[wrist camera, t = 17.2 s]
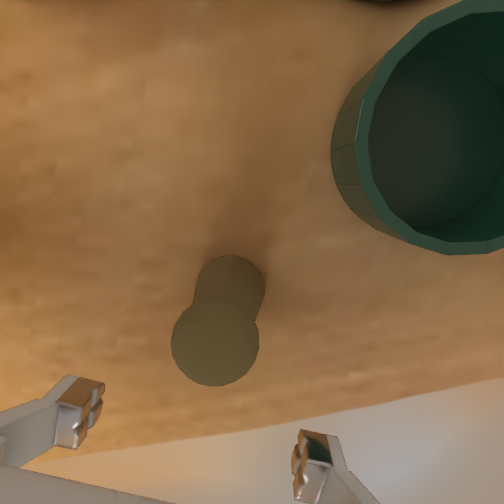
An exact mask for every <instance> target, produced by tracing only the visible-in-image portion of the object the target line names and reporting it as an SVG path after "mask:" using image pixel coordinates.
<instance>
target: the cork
mask: <svg viewBox="0 0 504 504" xmlns="http://www.w3.org/2000/svg"><path fill="white" fill-rule="evenodd" d="M264 293H265V292H264V281H263V279H262V276H261V274H260V272H259V271H258V270H257V268H256V267H255V266H254V265H253V264H252V263H250V262H248V261H247V260H245V259H243V258H239V257H235V256H222V257H220V258H217V259H214V260H212V261H211V262H210V263H208V264H207V265H206V266H205V267H204V268H203V270H202V271H201V273H200V274H199V276H198V281H197V285H196V289H195V294H194V299H193V304H192V305H191V306H190V307H188V308H187V309H186V310H184V311H183V313H182V314H181V316H180V318H179V319H178V321H177V322H176V324H175V325H174V328H173V333H172V337H171V348H172V356H173V358H174V360H175V362H176V364H177V366H178V367H179V369H180V370H181V371H182V372H183V373H184V374H185V375H186V376H187V377H188V378H189V379H191V380H193V381H194V382H196V383H198V384H202V385H206V386H224V385H227V384H230V383H233V382H235V381H237V380H238V379H240V378H241V377H242V376H244V375H245V374H246V373H247V372H248V371H249V369H250V368H251V366H252V365H253V364H254V362H255V360H256V356H257V353H258V349H259V335H258V329H257V326H256V324H255V320H256V317H257V314H258V312H259V309H260V306H261V303H262V300H263V296H264Z"/></svg>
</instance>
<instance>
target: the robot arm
mask: <svg viewBox="0 0 504 504" xmlns="http://www.w3.org/2000/svg"><path fill="white" fill-rule="evenodd" d="M104 392H105V384H104V383H102V382H98V381H94V380H90V379H86V378H82V377H78V376H74V375H70V374H69V375H66V376H65V377H63V378H62V379H61V380H60V381H59V382H58V383H57V384H56V385H55V386H54V387H53V388H52V389H51V390H50V391H49V392H48V393H47V394H46V395H45V396H44V397H43V398H42V399H41V400H39V399H35V400H32V401H30V402H27V403H24V404H21V405H19V406H16V407H13V408H10V409H8V410H5V411H2V412H0V504H174V503H170V502H166V501H161V500H157V499H152V498H147V497H143V496H139V495H135V494H130V493H126V492H121V491H117V490H113V489H108V488H104V487H99V486H95V485H90V484H86V483H82V482H78V481H73V480H69V479H65V478H60V477H56V476H51V475H47V474H43V473H38V472H34V471H29V470H25V469H21V468H20V467H21V466H23V465H25V464H26V463H28V462H29V461H31V460H33V459H34V458H36V457H38V456H39V455H41V454H43V453H44V452H46V451H47V450H49V449H51V448H52V447H53V446H58V447H63V448H68V449H73V450H77V449H78V447H79V446H80V444H81V443H82V441H83V440H84V439H85V437H86V435H87V430H88V429H90V428H92V427H93V426H94V424H95V423H96V421H97V419H98V417H99V415H100V413H101V410H102V405H103V401H102V399H101V396H102V395H103V394H104ZM291 467H292V474H293V475H294V476H295V479H294V482H293V489H294V499H295V501H300V502H303V503H307V504H380V503H379V502H378V501H377V500H376V498H375V497H374V496H373V495H372V494H371V493H370V492H369V491H368V489H367V488H366V487H365V486H364V485H363V484H362V483H361V482H360V481H359V479H358V478H357V477H356V476H355V475H354V474H353V473H352V472H351V471H348V470H347V466H346V463H345V459H344V456H343V452H342V449H341V446H340V443H339V439H338V437H337V436H332V435H328V434H321V433H317V432H312V431H308V430H303V429H301V430H300V431H299V434H298V444H297V445H296V446H295V447H294V450H293V455H292V464H291Z"/></svg>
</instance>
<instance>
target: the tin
mask: <svg viewBox="0 0 504 504" xmlns="http://www.w3.org/2000/svg"><path fill="white" fill-rule="evenodd" d="M331 165H332V171H333V175H334V180H335V182H336V185H337V187H338V190H339V192H340V194H341V196H342V197H343V199H344V201H345V202H346V203H347V205H348V206H349V207H350V209H351V210H352V211H353V212H354V213H355V214H356V215H357V216H358V217H360V218H361V219H362V220H364V221H365V222H366V223H368V224H369V225H370V226H372V227H373V228H375V229H377V230H379V231H382V232H384V233H386V234H389V235H391V236H393V237H396V238H398V239H400V240H403V241H405V242H407V243H410V244H412V245H416V246H419V247H422V248H425V249H428V250H431V251H434V252H438V253H441V254H444V255H469V254H487V253H491V252H493V251H496V250H499V249H502V248H504V0H462V1H460V2H458V3H456V4H454V5H451V6H449V7H447V8H445V9H443V10H441V11H438V12H436V13H434V14H432V15H430V16H428V17H425V18H424V19H423V20H421V21H420V22H419V23H418V24H417V25H416V26H415V27H414V28H413V29H412V30H411V31H409V32H408V33H407V34H406V35H405V36H404V37H403V38H402V39H401V40H400V41H399V42H398V43H397V44H396V45H395V46H394V47H393V48H391V49H390V50H389V51H388V52H387V53H386V54H385V55H384V56H383V57H382V58H381V59H380V60H379V61H378V62H377V63H376V64H375V65H374V66H373V67H372V68H371V69H370V70H369V71H368V72H367V73H366V74H365V75H364V77H363V78H362V79H361V80H360V81H359V82H358V83H357V84H356V85H355V86H354V87H353V88H352V90H351V92H350V94H349V95H348V97H347V99H346V100H345V102H344V104H343V106H342V107H341V110H340V112H339V114H338V116H337V119H336V122H335V126H334V130H333V134H332V141H331Z"/></svg>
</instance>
